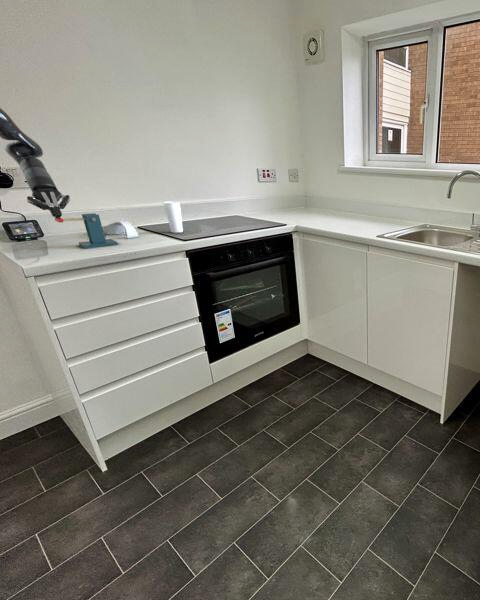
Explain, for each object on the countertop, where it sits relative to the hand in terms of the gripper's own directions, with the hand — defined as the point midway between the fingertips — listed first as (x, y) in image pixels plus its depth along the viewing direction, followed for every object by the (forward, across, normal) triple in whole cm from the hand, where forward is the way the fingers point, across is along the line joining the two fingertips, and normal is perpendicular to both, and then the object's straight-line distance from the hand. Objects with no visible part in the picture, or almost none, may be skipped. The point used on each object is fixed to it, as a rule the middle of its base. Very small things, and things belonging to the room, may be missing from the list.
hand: (58, 216), depth 137 cm
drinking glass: (+3, +44, +15) cm, 47 cm away
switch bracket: (+9, +10, +9) cm, 16 cm away
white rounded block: (-3, +23, +22) cm, 32 cm away
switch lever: (+2, +5, +2) cm, 6 cm away
